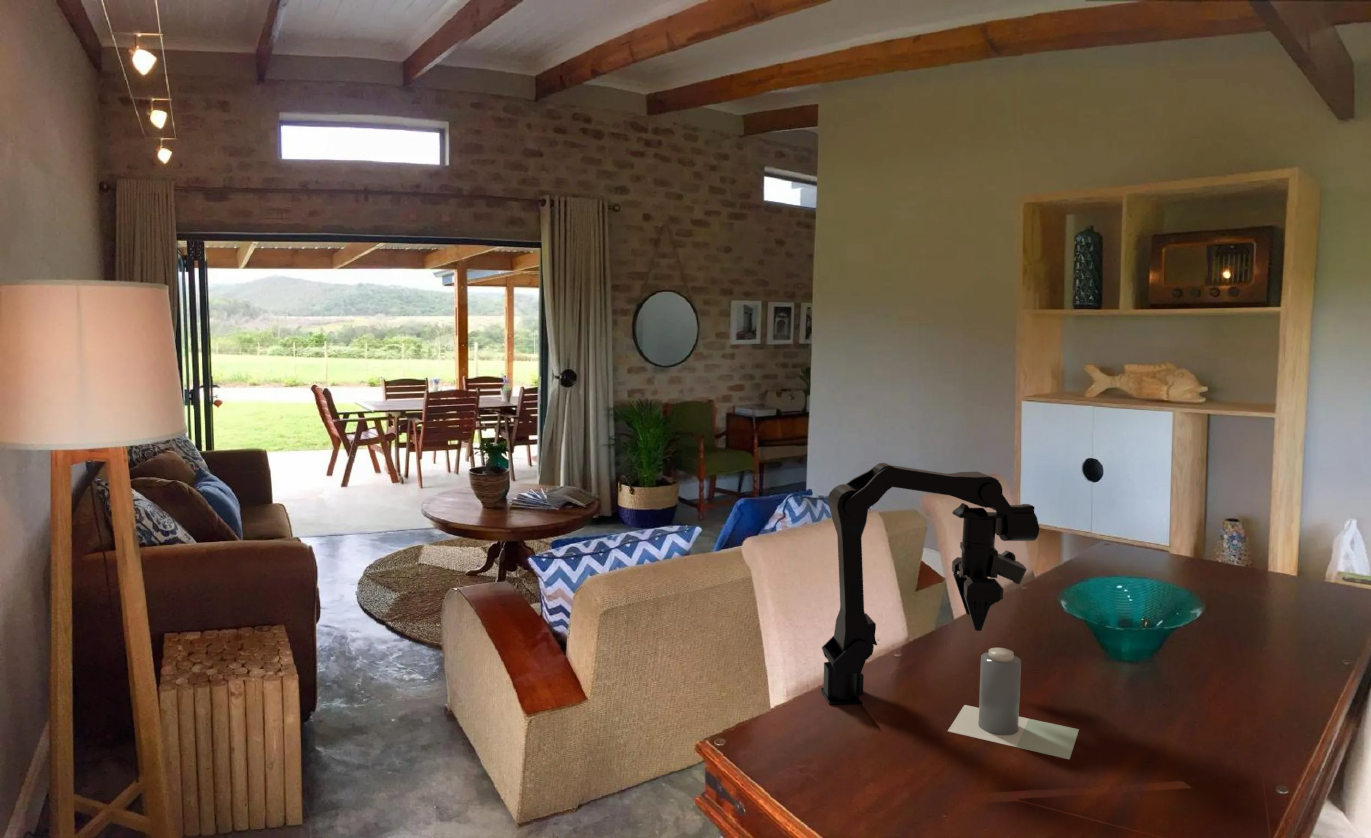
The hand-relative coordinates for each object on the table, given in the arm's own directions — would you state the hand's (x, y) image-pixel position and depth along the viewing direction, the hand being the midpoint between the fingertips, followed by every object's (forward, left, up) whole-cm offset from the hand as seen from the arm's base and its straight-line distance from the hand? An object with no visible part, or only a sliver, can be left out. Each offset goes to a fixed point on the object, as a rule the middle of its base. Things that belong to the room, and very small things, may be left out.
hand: (973, 622), depth 165 cm
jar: (-3, -16, -13) cm, 21 cm away
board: (-1, -18, -14) cm, 22 cm away
